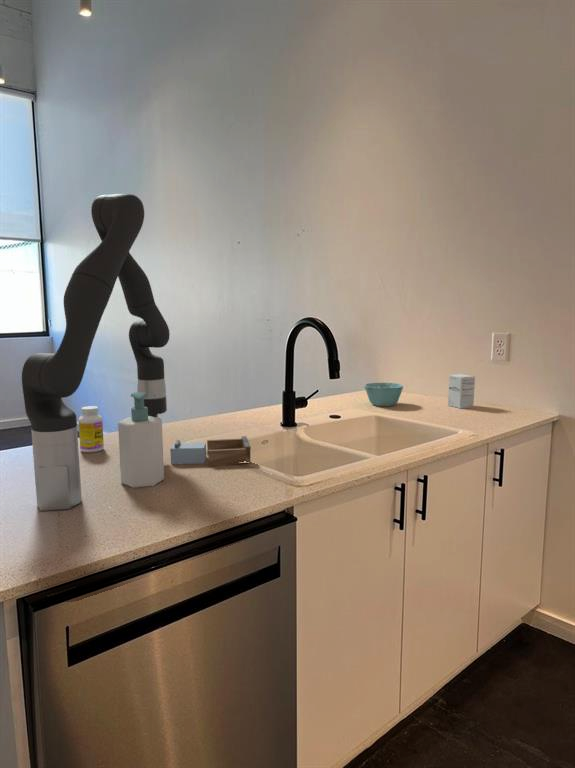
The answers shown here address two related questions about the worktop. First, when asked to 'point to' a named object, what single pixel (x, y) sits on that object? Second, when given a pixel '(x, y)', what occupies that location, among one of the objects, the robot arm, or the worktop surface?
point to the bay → (228, 451)
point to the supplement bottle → (91, 430)
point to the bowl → (383, 393)
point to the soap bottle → (141, 446)
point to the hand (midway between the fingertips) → (154, 457)
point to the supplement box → (461, 391)
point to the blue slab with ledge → (188, 453)
